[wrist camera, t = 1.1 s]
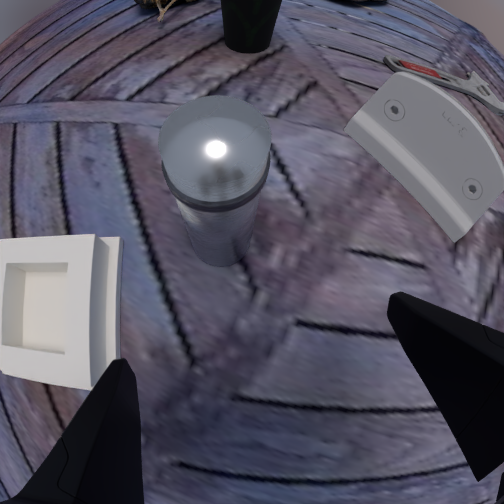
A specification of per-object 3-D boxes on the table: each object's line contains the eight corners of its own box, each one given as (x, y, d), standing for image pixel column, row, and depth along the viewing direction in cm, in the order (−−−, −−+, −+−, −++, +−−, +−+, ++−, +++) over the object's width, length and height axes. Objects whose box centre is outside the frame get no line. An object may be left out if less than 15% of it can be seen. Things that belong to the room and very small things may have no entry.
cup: (253, 66, 30) (263, -23, 19) (203, 44, 31) (201, -38, 20) (289, 41, 32) (305, -35, 21) (242, 21, 33) (248, -51, 22)
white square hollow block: (122, 391, 20) (102, 399, 16) (8, 373, 19) (-19, 374, 15) (123, 240, 24) (106, 222, 20) (15, 245, 23) (-9, 231, 19)
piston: (253, 268, 24) (280, 186, 11) (189, 269, 23) (148, 189, 11) (251, 208, 25) (270, 93, 13) (190, 210, 25) (162, 96, 12)
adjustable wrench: (372, 41, 35) (376, 31, 33) (492, 89, 36) (498, 83, 34) (384, 74, 33) (390, 63, 31) (509, 123, 34) (515, 117, 32)
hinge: (340, 127, 28) (391, 51, 20) (358, 119, 31) (404, 52, 23) (456, 246, 26) (527, 188, 18) (462, 224, 28) (523, 172, 20)
